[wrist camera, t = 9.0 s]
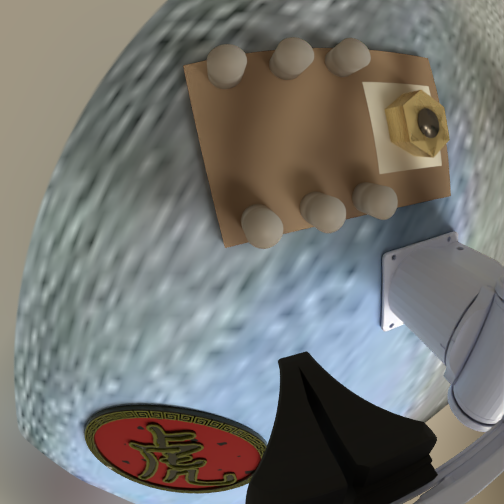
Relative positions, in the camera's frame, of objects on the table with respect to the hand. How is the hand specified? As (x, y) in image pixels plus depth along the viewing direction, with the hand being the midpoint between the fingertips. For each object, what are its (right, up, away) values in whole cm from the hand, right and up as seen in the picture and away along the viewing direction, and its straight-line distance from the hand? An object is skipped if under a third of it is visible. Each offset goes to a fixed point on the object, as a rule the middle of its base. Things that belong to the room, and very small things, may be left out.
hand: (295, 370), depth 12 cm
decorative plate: (-12, -22, +16) cm, 30 cm away
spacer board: (+4, +14, +6) cm, 16 cm away
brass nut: (+10, +15, +5) cm, 19 cm away
